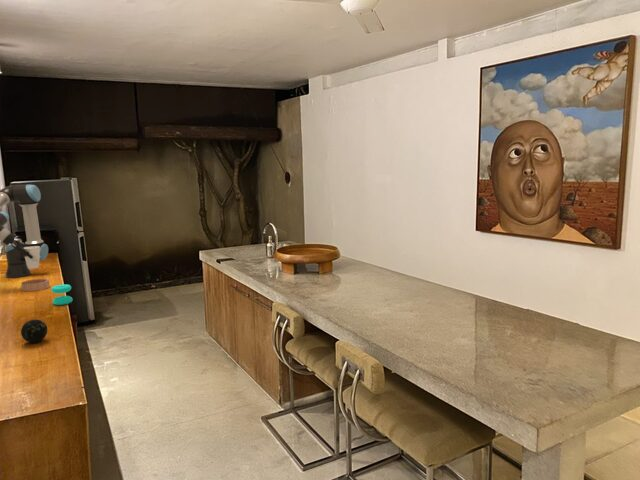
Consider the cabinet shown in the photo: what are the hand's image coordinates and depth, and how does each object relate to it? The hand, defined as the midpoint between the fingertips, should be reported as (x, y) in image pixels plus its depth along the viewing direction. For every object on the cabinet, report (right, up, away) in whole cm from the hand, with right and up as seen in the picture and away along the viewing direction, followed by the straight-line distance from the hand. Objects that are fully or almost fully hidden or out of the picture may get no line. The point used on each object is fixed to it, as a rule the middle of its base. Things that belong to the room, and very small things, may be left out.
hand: (38, 259), depth 313 cm
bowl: (-2, -18, +2) cm, 19 cm away
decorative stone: (+54, -33, -96) cm, 115 cm away
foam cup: (-3, -5, -1) cm, 6 cm away
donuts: (+34, -23, -34) cm, 54 cm away
